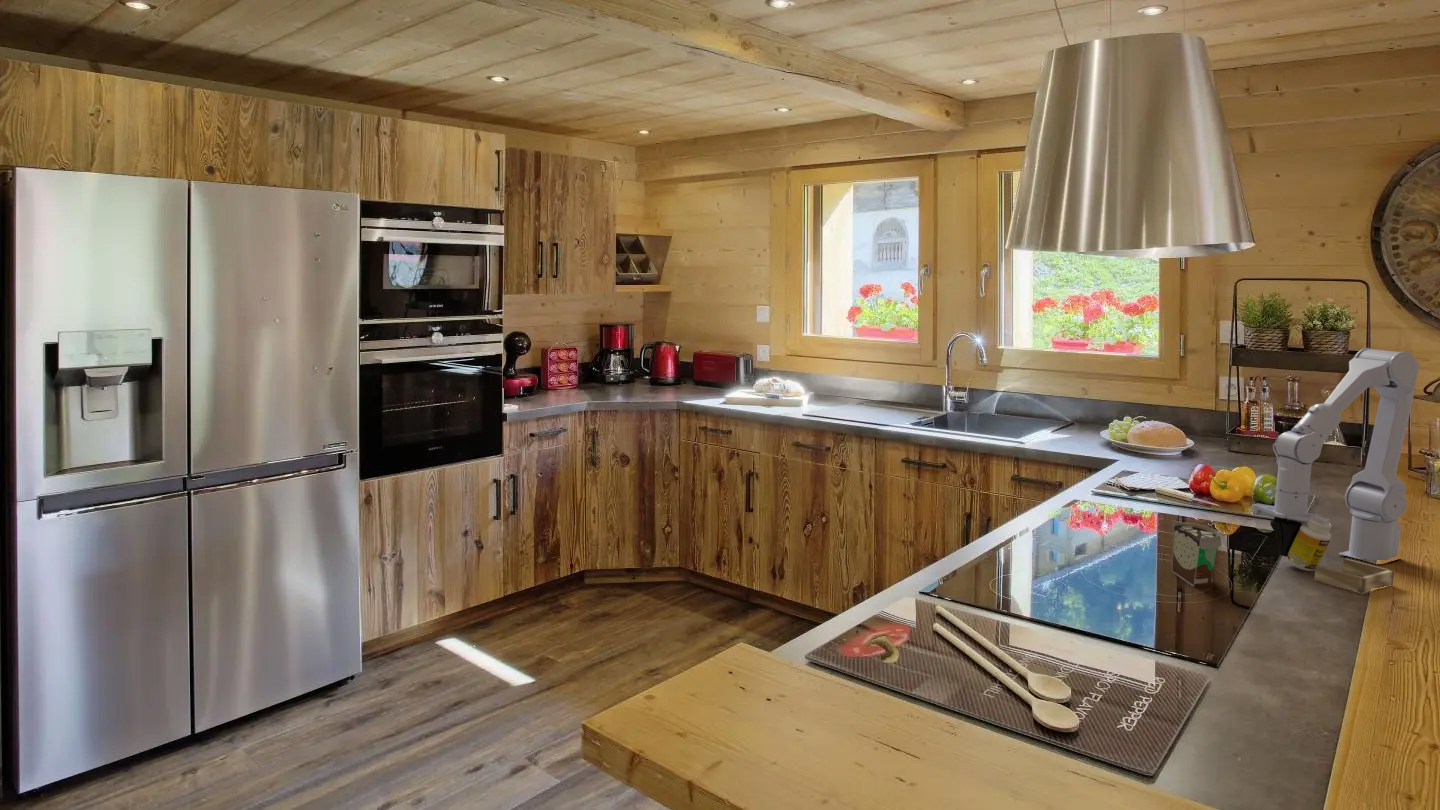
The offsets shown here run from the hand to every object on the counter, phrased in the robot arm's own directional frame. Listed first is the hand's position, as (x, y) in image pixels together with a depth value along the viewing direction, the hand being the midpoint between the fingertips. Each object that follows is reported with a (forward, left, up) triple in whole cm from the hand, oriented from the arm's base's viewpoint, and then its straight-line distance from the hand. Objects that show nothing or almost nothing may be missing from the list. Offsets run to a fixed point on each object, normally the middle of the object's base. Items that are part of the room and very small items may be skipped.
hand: (1285, 555), depth 195 cm
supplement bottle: (0, +3, -1) cm, 3 cm away
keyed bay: (0, +13, -2) cm, 13 cm away
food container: (+25, -2, -2) cm, 25 cm away
